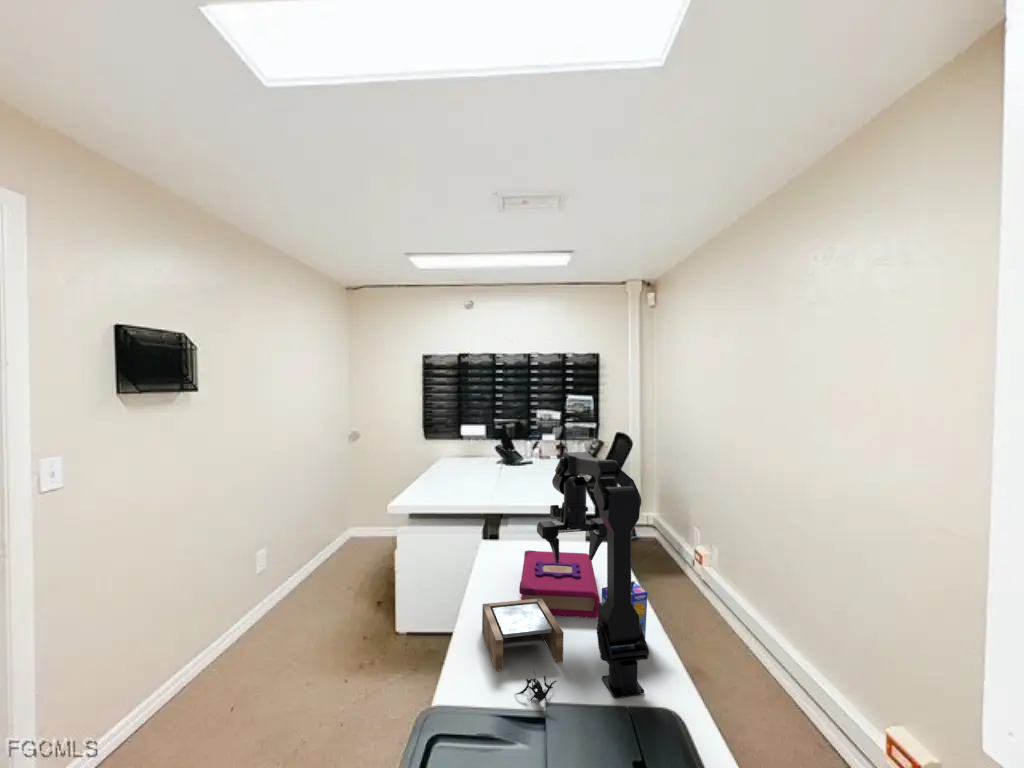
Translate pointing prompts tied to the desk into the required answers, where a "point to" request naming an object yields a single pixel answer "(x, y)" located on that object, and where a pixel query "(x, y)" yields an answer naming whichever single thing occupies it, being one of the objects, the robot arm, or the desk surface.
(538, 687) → the creature
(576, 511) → the robot arm
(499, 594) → the desk surface
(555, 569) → the book
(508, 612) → the trapdoor
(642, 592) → the ink cartridge box
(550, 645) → the wooden stand
